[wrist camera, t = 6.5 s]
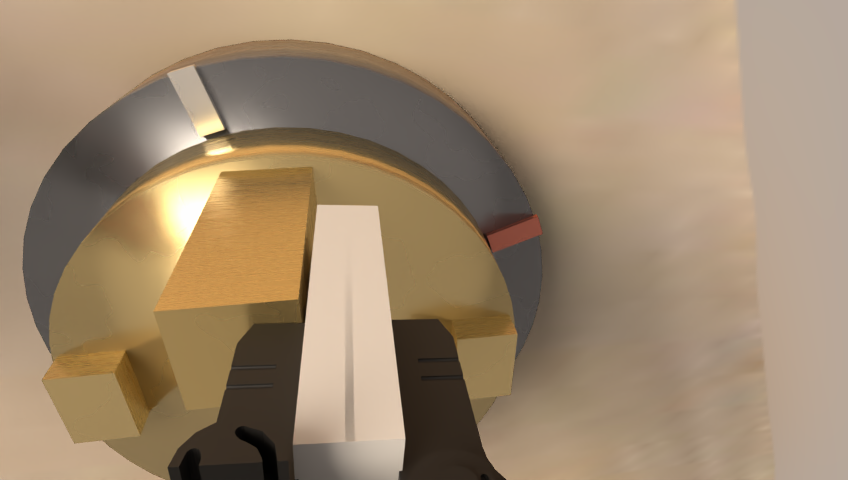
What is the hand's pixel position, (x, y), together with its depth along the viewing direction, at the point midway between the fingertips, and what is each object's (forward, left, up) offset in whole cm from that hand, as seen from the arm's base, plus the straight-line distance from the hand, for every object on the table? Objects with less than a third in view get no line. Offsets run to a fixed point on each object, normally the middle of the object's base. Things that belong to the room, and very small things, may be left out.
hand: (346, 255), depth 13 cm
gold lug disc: (-5, +4, -5) cm, 8 cm away
